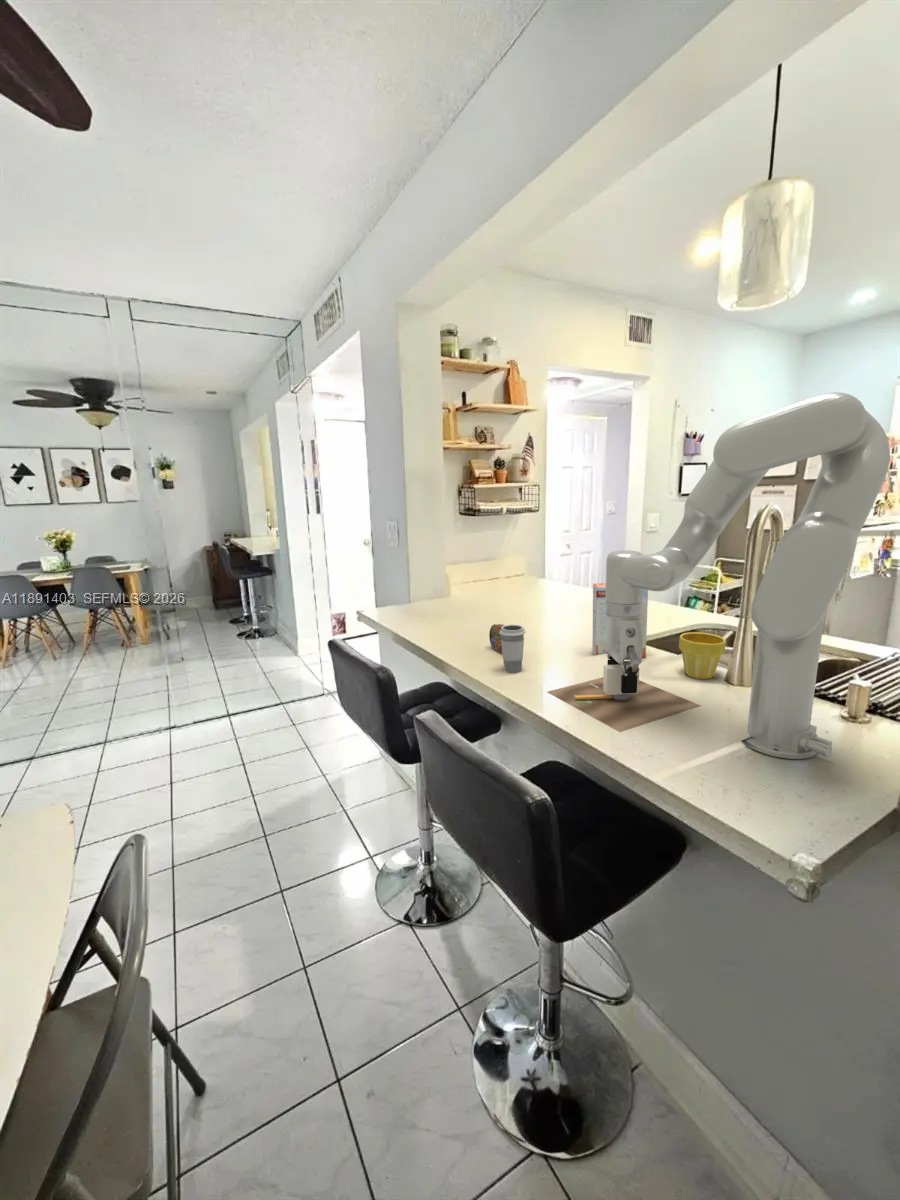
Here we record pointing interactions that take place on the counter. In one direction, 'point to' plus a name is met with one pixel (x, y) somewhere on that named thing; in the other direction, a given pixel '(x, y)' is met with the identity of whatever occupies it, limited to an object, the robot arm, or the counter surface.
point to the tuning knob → (612, 685)
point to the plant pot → (701, 653)
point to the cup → (512, 647)
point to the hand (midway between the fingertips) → (621, 684)
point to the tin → (496, 637)
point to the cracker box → (602, 621)
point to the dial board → (624, 704)
